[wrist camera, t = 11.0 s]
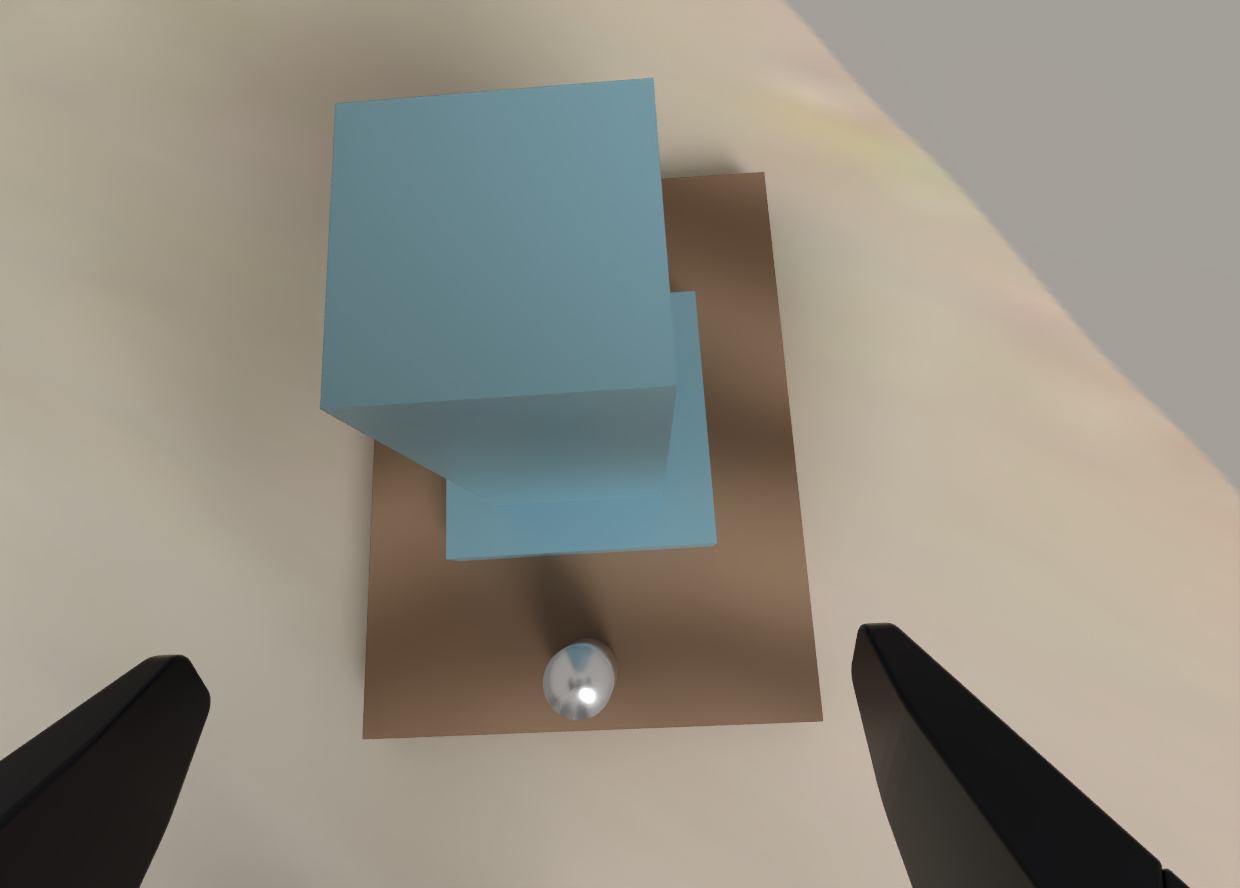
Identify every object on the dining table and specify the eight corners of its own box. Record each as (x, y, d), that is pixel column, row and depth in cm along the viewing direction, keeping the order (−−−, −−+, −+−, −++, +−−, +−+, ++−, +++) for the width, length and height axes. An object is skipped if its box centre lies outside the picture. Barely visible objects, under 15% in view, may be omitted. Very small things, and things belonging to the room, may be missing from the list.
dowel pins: (619, 700, 17) (614, 718, 15) (558, 703, 17) (543, 721, 15) (598, 203, 20) (591, 150, 18) (547, 206, 20) (533, 154, 18)
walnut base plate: (809, 710, 18) (823, 721, 17) (385, 727, 19) (362, 739, 17) (756, 200, 22) (764, 172, 20) (401, 223, 22) (384, 197, 21)
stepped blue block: (712, 546, 18) (797, 484, 8) (459, 561, 18) (207, 521, 8) (692, 309, 19) (739, -9, 9) (459, 325, 20) (250, 33, 9)
